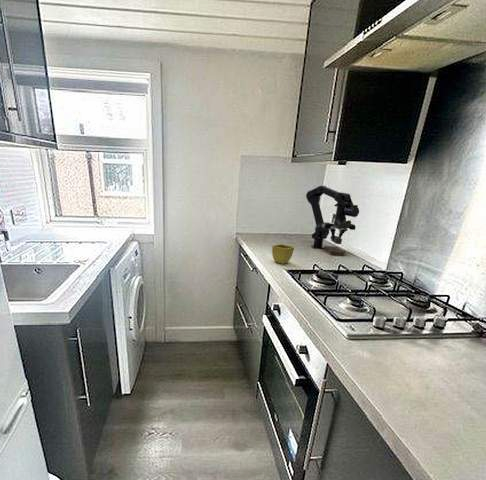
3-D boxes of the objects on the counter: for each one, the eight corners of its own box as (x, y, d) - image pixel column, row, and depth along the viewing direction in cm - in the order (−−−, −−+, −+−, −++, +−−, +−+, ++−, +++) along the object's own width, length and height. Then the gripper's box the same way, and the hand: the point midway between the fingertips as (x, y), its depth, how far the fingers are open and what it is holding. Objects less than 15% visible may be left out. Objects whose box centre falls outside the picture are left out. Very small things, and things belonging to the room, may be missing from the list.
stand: (324, 249, 199) (324, 245, 198) (336, 250, 198) (337, 246, 197) (330, 255, 185) (331, 251, 184) (344, 255, 185) (344, 251, 184)
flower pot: (279, 259, 171) (280, 243, 168) (292, 262, 165) (294, 246, 162) (270, 261, 165) (271, 245, 162) (283, 265, 159) (285, 249, 156)
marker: (330, 239, 195) (330, 234, 194) (335, 240, 195) (335, 235, 194) (335, 243, 185) (336, 238, 184) (341, 244, 184) (342, 239, 183)
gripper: (329, 215, 177) (324, 241, 182) (361, 217, 176) (356, 243, 181) (323, 213, 187) (319, 237, 192) (354, 214, 187) (349, 239, 192)
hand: (336, 239), depth 189 cm, fingers closed on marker, 3 cm apart
